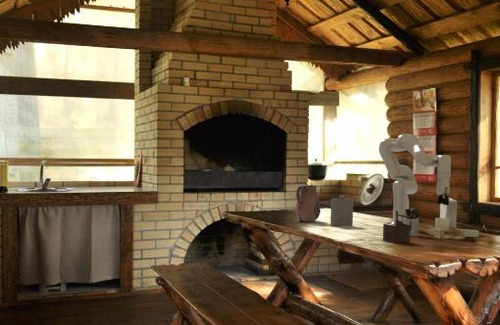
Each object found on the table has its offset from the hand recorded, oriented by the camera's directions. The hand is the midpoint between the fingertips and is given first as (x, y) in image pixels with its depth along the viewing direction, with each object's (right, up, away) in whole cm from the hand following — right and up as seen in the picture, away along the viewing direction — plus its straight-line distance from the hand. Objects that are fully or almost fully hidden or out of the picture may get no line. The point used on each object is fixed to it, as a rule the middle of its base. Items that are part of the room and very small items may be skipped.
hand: (443, 204), depth 338 cm
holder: (+13, -19, -1) cm, 23 cm away
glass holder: (-23, -18, -7) cm, 30 cm away
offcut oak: (0, -19, -9) cm, 21 cm away
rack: (-1, -18, -4) cm, 19 cm away
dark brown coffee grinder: (-35, -18, -34) cm, 52 cm away
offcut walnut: (-1, -17, -9) cm, 19 cm away
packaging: (+12, -19, +26) cm, 34 cm away
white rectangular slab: (-1, -18, 0) cm, 18 cm away
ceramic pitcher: (-77, -16, +53) cm, 94 cm away
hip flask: (-56, -17, +33) cm, 67 cm away
